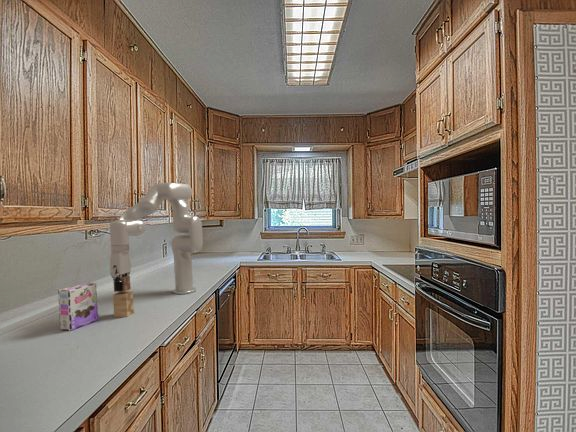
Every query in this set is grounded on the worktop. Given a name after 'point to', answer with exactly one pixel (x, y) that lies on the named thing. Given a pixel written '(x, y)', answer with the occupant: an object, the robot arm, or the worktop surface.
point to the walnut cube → (124, 283)
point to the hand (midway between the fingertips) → (122, 288)
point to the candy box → (77, 306)
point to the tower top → (123, 298)
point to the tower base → (123, 310)
